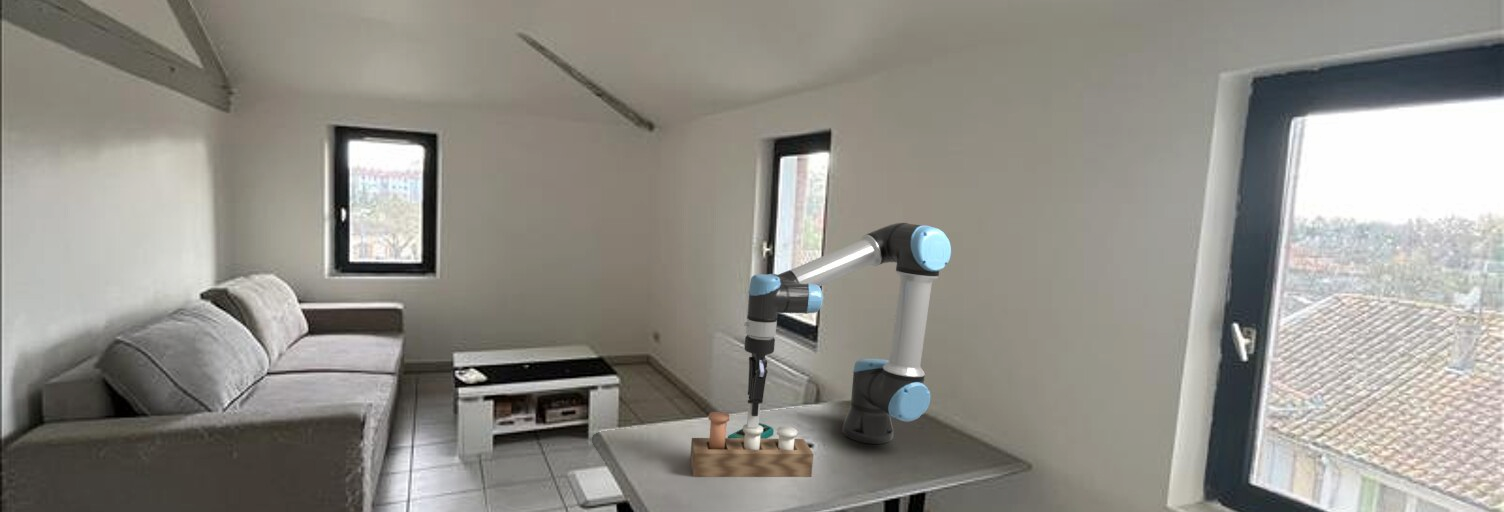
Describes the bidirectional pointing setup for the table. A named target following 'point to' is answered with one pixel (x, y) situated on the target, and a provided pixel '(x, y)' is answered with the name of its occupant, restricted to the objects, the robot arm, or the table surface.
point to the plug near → (786, 438)
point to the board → (750, 459)
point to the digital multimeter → (766, 433)
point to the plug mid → (752, 437)
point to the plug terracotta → (718, 430)
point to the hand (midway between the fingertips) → (752, 426)
